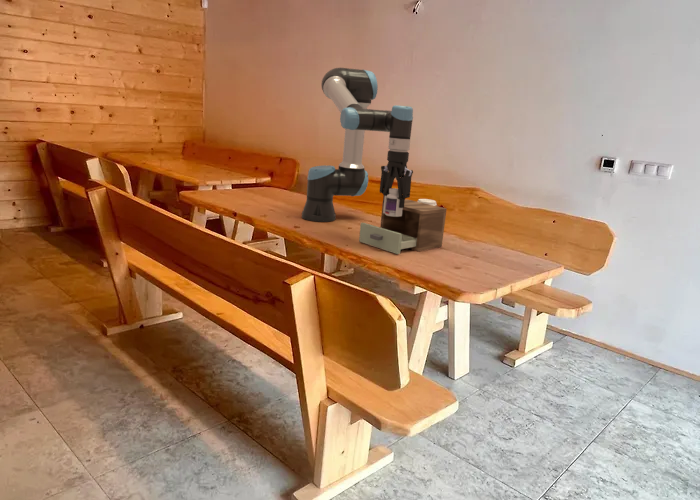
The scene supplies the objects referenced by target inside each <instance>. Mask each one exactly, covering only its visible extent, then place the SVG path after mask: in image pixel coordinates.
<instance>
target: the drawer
mask: <svg viewBox="0 0 700 500" xmlns="http://www.w3.org/2000/svg"><path fill="white" fill-rule="evenodd" d="M358 238H359V241H358V242H359V243H362V244H365V245H368V246H371V247H375V248H378V249H380V250H384V251H385V252H386V251H387V252H388V253H389V252H391V253H393V254H395V255H400V254H401V250H404V249H409V248H410V247H416V245H417V238H414V237H411V236H408V235H404V234H401V233H397V232H394V231H391V230H387V229H384V228H380V226H376V225H374V224H370V223H366V222H360V227H359V237H358Z"/></svg>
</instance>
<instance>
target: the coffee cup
mask: <svg viewBox="0 0 700 500" xmlns="http://www.w3.org/2000/svg"><path fill="white" fill-rule="evenodd" d="M417 202H421V203H425V204H429V205H434V206H438V204H437V201H436V200H434V199H430V198H429V199H428V198H419V199H418V200H417Z"/></svg>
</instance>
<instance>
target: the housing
mask: <svg viewBox="0 0 700 500" xmlns="http://www.w3.org/2000/svg"><path fill="white" fill-rule="evenodd" d="M381 206H382V207H381V216H380V226H379V227H380V228H384V229H387V230H391V231H394V232H397V233H401V234H404V235H408V236H411V237H414V238H417V245H416V247H410V248H408V249H409V250H412V249H413V251H415V250H416V252H422V250H423V251H428V250H432V248H433V249H439V248H441V247H443V239H444V233H445V231H444V230H445V224H446V215H447V209H448V208H445V207H443V206H442V207H441V206H438V205H436V206H434V205H429V204H425V203H421V202H418V201H415V200H411V199H408V198H405V202H404V208H403V209H402V216H399V217H393V216H387V215H385V214H384V213H383V209H384V204H383V203H382V205H381ZM427 249H428V250H427Z"/></svg>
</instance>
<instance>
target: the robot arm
mask: <svg viewBox="0 0 700 500" xmlns="http://www.w3.org/2000/svg"><path fill="white" fill-rule="evenodd" d="M321 90H322V92H323V94H324V95H325V97H327V99H330V100H331V101H332V103H333V104H334V106H335V107H336V108H337V110H338V111H339V113H340V119H339V120H340V121H339V122H340V127H342V128H343V129H345V130H344V137H343V140H344V141H343V152H342V161H341V162H340V163H339V164H338V168H337V169H336V167H335V165H317V166H312V167H310V168H309V170H308V174H307V177H306V179H307V184H306V185H307V187H306V201H305V204H304V206H303V209H302V211H301V218H302V219H303V220H307V221H310V222H321V223H322V222H323V223H324V222H326V223H328V222H333V221H335V220H336V212H335V206H334V203H333V201H334V196H339V197H340V196H342V197H344V196H346V197H355V196H357V197H358V196H362V195H364V193H365V192H366V190H367V187H368V183H369V172H368V171H367V170H365V166H364V164H363V153H364V152H363V151H364V143H365V133H366V131H369V132H370V131H372V132H386V133H389V136H388V137H389V138H388V147H387V148H388V151H387V156H386V157H387V158H386V160H387V164H386V165H381V167H380V170H381V171H380V172H381V175H380V183H379V193H380V194H382V196H383V197H382V198H383V199H382V204H384V209H383V213H384V214H385V209H386V198H387V195H388V194H390V193H389V189H390V188H392V187H393V186H394V185H393V184H394V181H395V179H396V181H397V182H396V183H397V189H398V193H399V197H398V199H397V204H396V214H395V216H396V217H399V216H402V209H403V208H404V202H405V199H409V198H410V197H411V186H412V185H411V184H412V177H413V174H414V171H413V169H409V168H408V166H407V164H408V162H409V156H410V155H409V154H410V153H409V152H408V151H410V146H411V137H412V136H411V135H412V127H413V119H414V116H413V115H414V109H413V107H412V106H408V105H407V106H406V105H393V106H392V107H391V110H387V109H385V110H384V109H370V108H368V107H369V106H370V105H372V101H373V100H375V99H376V98H377V95H378V79H377V77H376V74H375V73H374V72H373V71H371V70H367V69H359V68H347V67H336V68H335V67H334V68H332V69H329V70H328V71H327V72H326V73H325V74H324V76H323V77H322V80H321Z"/></svg>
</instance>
